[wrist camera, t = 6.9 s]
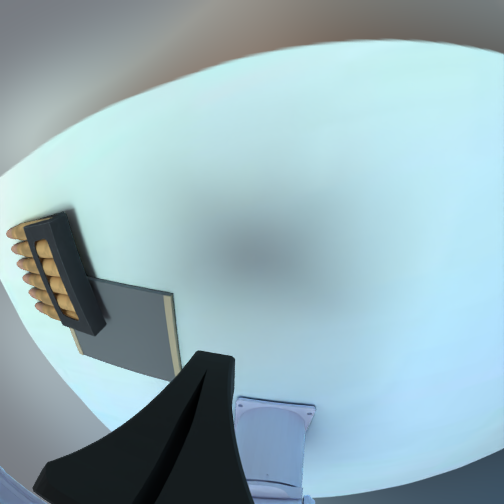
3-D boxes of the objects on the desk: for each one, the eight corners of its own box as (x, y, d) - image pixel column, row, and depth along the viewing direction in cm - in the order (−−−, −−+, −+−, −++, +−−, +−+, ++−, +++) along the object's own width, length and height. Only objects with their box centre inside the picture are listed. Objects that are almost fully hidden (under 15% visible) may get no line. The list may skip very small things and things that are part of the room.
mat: (183, 381, 27) (182, 385, 26) (81, 350, 28) (79, 353, 27) (172, 293, 22) (170, 296, 21) (54, 268, 23) (51, 270, 23)
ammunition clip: (65, 211, 19) (10, 222, 23) (48, 219, 17) (-2, 229, 21) (107, 325, 23) (43, 308, 27) (95, 337, 21) (33, 316, 25)
